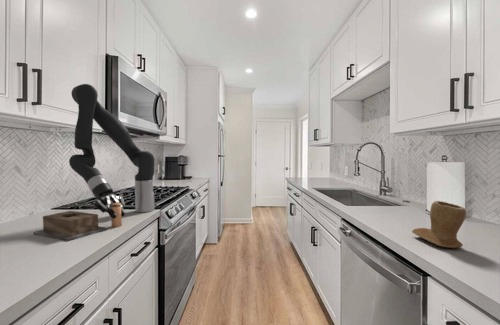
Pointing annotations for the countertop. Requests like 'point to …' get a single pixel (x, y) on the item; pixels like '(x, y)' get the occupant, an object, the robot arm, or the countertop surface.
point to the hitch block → (70, 225)
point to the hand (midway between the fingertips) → (119, 216)
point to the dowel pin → (118, 220)
